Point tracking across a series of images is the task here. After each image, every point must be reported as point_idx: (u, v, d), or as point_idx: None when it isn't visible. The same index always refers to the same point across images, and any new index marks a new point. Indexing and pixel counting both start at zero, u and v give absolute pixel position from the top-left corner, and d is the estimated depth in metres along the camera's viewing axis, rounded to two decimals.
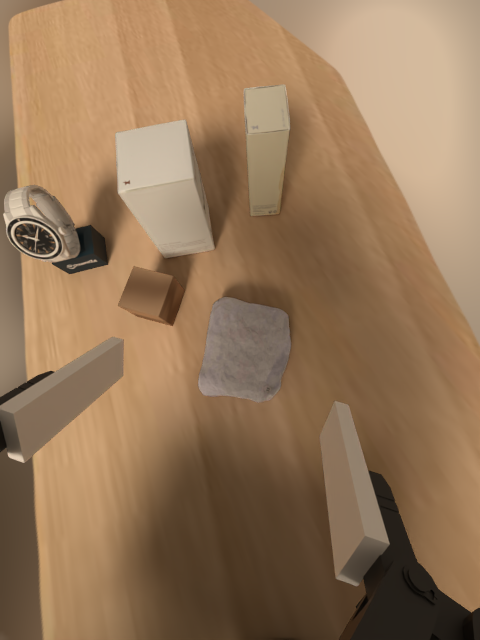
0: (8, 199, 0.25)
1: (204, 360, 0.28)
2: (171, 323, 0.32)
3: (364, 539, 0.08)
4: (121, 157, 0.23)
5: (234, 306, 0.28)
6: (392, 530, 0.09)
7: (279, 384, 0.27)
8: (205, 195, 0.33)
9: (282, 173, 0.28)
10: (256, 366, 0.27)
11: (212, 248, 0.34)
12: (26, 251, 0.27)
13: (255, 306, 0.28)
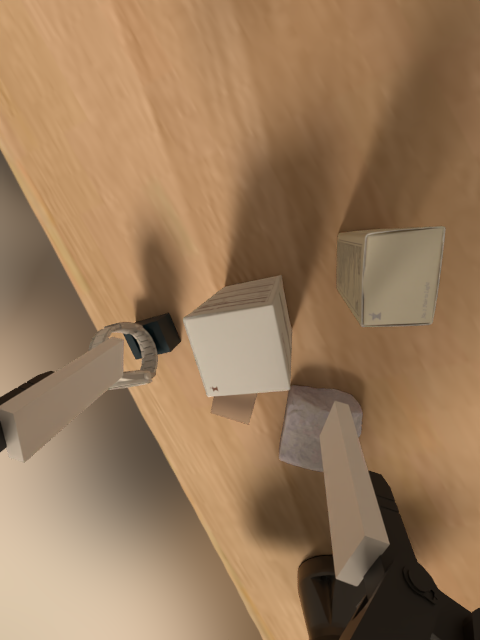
0: None
1: (282, 443, 0.33)
2: None
3: (364, 539, 0.08)
4: (200, 357, 0.20)
5: (309, 414, 0.30)
6: (392, 530, 0.09)
7: None
8: (282, 287, 0.26)
9: None
10: None
11: None
12: (122, 387, 0.29)
13: None
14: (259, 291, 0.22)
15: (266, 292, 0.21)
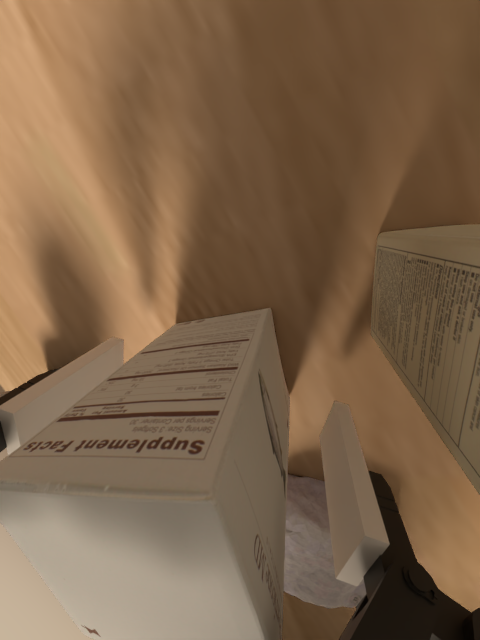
0: None
1: None
2: None
3: (364, 539, 0.08)
4: (40, 570, 0.07)
5: (311, 542, 0.17)
6: (392, 530, 0.09)
7: None
8: (269, 338, 0.13)
9: None
10: (343, 587, 0.20)
11: None
12: None
13: None
14: (213, 368, 0.10)
15: (225, 379, 0.09)
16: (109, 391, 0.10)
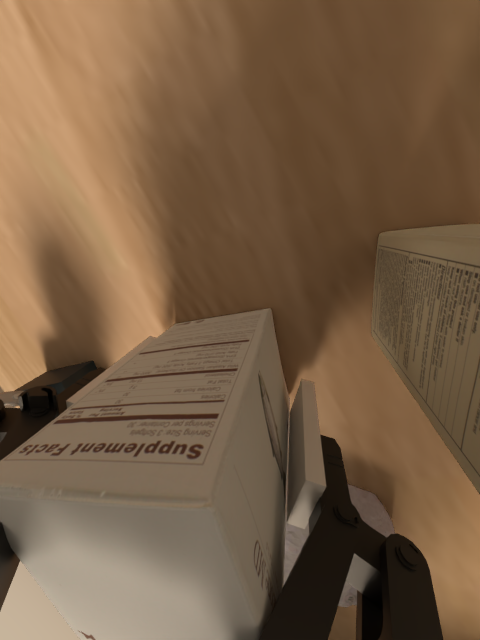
0: None
1: None
2: None
3: (305, 483, 0.09)
4: (35, 575, 0.07)
5: None
6: (334, 480, 0.10)
7: None
8: (269, 339, 0.13)
9: None
10: None
11: None
12: None
13: None
14: (212, 369, 0.10)
15: (224, 381, 0.09)
16: (107, 392, 0.10)
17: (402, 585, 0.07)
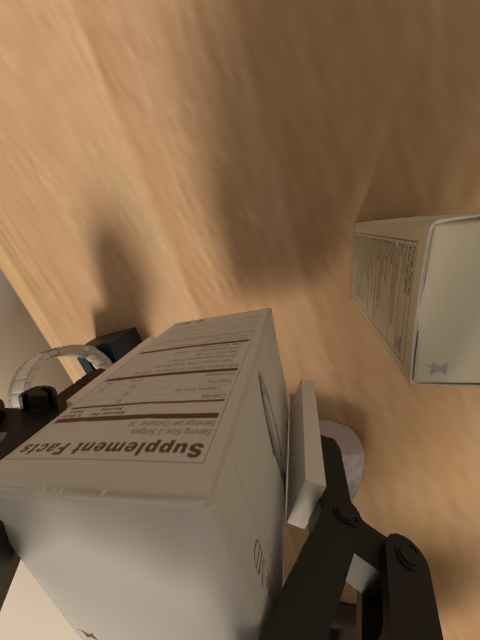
0: None
1: None
2: None
3: (305, 483, 0.09)
4: (36, 574, 0.07)
5: None
6: (334, 480, 0.10)
7: None
8: (269, 339, 0.13)
9: None
10: None
11: None
12: None
13: None
14: (212, 369, 0.10)
15: (224, 380, 0.09)
16: (107, 392, 0.10)
17: (402, 585, 0.07)
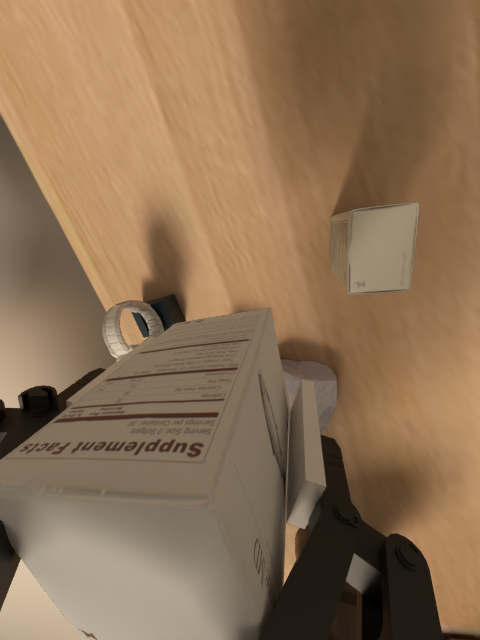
0: (108, 342, 0.27)
1: None
2: None
3: (305, 483, 0.09)
4: (36, 574, 0.07)
5: (288, 383, 0.33)
6: (334, 480, 0.10)
7: (325, 428, 0.36)
8: (269, 338, 0.13)
9: None
10: None
11: None
12: None
13: None
14: (212, 368, 0.10)
15: (224, 380, 0.09)
16: (107, 392, 0.10)
17: (402, 585, 0.07)
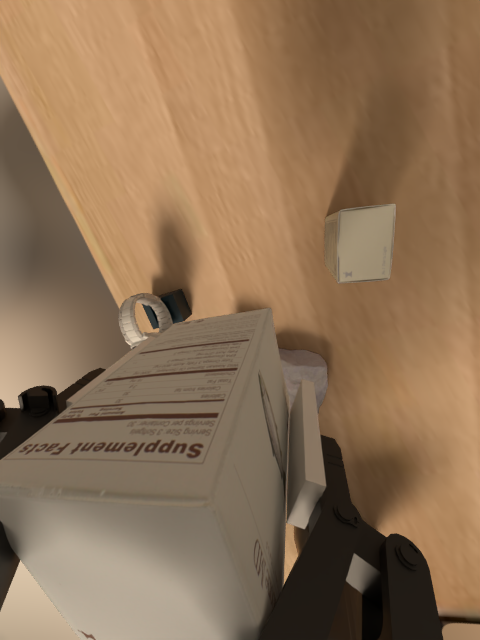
0: (124, 330, 0.30)
1: None
2: None
3: (305, 483, 0.09)
4: (35, 575, 0.07)
5: (282, 369, 0.36)
6: (334, 480, 0.10)
7: None
8: (269, 339, 0.13)
9: None
10: None
11: None
12: None
13: (299, 368, 0.35)
14: (212, 369, 0.10)
15: (224, 380, 0.09)
16: (107, 392, 0.10)
17: (402, 585, 0.07)
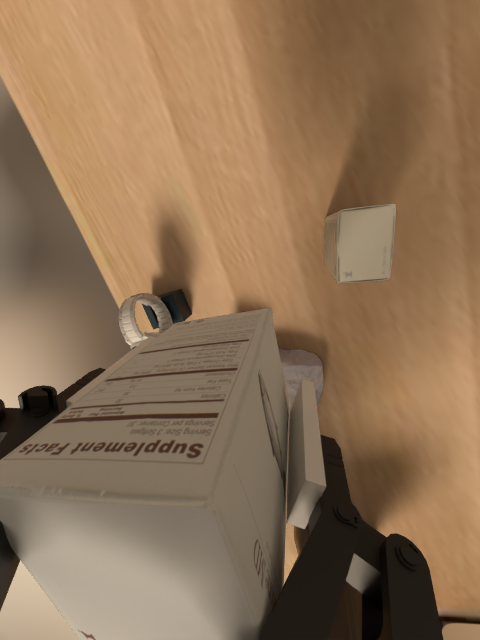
0: (124, 330, 0.30)
1: None
2: None
3: (305, 483, 0.09)
4: (35, 575, 0.07)
5: None
6: (334, 480, 0.10)
7: None
8: (269, 339, 0.13)
9: None
10: None
11: None
12: None
13: (294, 367, 0.35)
14: (212, 369, 0.10)
15: (224, 380, 0.09)
16: (107, 392, 0.10)
17: (402, 585, 0.07)
